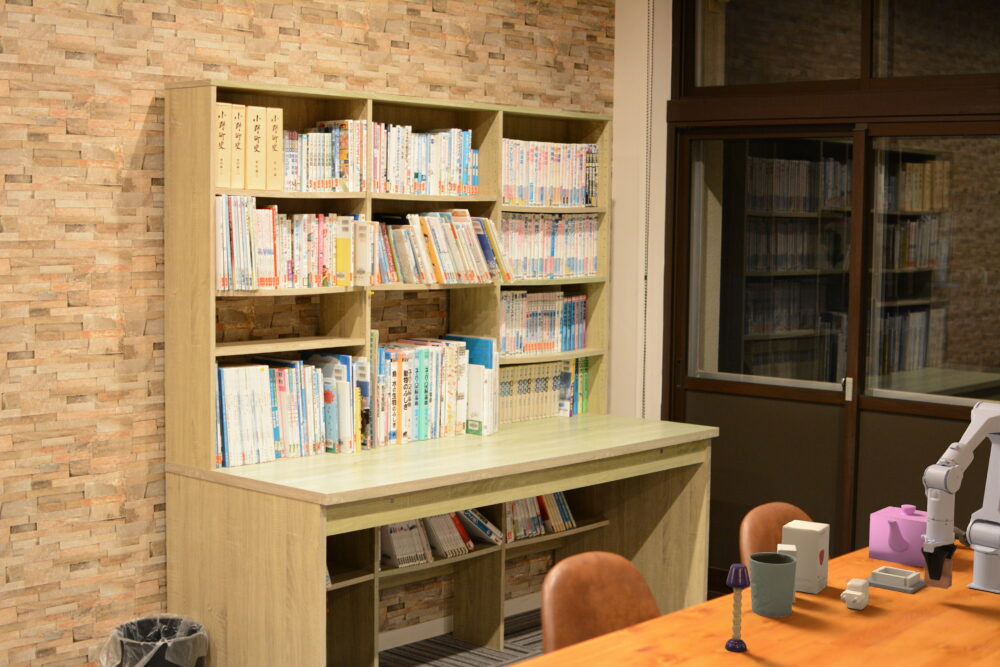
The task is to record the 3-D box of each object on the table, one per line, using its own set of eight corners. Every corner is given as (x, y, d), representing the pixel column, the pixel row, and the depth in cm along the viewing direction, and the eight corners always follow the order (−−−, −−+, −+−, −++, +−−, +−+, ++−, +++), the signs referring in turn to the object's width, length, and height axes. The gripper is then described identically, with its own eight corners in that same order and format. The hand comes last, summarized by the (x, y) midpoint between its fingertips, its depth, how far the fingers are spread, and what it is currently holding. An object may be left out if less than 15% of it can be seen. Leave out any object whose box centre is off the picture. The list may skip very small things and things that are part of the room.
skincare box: (795, 603, 265) (797, 551, 264) (775, 602, 266) (777, 549, 265) (794, 596, 271) (795, 544, 270) (775, 594, 272) (776, 543, 271)
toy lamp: (721, 644, 236) (724, 562, 235) (744, 643, 236) (746, 561, 235) (728, 652, 231) (730, 568, 230) (751, 651, 232) (754, 568, 230)
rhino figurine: (972, 553, 314) (973, 530, 314) (921, 544, 323) (922, 522, 323) (977, 550, 317) (978, 528, 317) (927, 541, 326) (928, 520, 326)
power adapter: (858, 618, 255) (859, 591, 254) (835, 614, 257) (836, 587, 257) (871, 605, 264) (872, 579, 264) (849, 601, 267) (850, 576, 266)
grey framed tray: (880, 574, 291) (881, 562, 291) (929, 583, 283) (929, 571, 283) (861, 584, 282) (861, 572, 281) (911, 593, 274) (911, 581, 274)
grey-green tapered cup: (798, 608, 261) (800, 555, 260) (789, 621, 252) (791, 566, 251) (753, 602, 265) (754, 549, 264) (742, 614, 256) (744, 560, 255)
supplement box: (817, 595, 272) (819, 531, 271) (779, 588, 277) (781, 525, 276) (828, 586, 279) (830, 523, 278) (791, 580, 284) (793, 518, 283)
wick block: (929, 581, 270) (930, 555, 270) (951, 585, 267) (952, 559, 266) (924, 584, 267) (925, 558, 267) (946, 589, 264) (947, 562, 264)
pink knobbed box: (857, 563, 301) (859, 509, 300) (893, 546, 321) (895, 495, 320) (917, 574, 292) (919, 518, 291) (950, 555, 311) (952, 503, 310)
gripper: (933, 510, 274) (931, 568, 275) (910, 521, 263) (908, 580, 264) (964, 515, 270) (962, 573, 271) (942, 526, 258) (940, 586, 259)
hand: (938, 577), depth 267 cm, fingers closed on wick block, 3 cm apart
